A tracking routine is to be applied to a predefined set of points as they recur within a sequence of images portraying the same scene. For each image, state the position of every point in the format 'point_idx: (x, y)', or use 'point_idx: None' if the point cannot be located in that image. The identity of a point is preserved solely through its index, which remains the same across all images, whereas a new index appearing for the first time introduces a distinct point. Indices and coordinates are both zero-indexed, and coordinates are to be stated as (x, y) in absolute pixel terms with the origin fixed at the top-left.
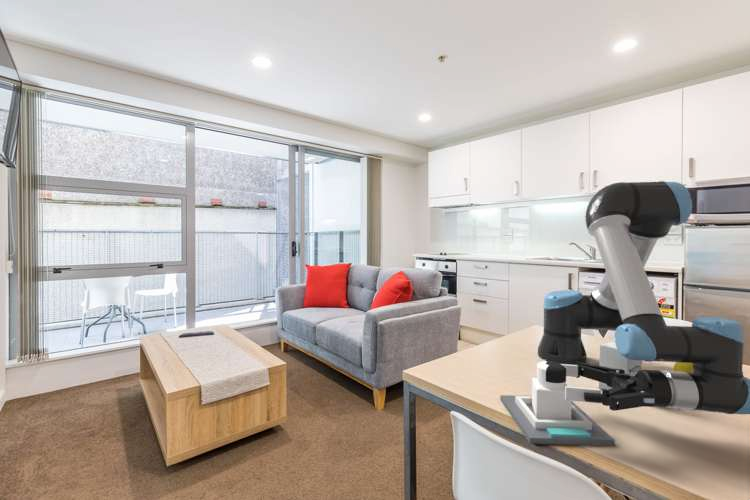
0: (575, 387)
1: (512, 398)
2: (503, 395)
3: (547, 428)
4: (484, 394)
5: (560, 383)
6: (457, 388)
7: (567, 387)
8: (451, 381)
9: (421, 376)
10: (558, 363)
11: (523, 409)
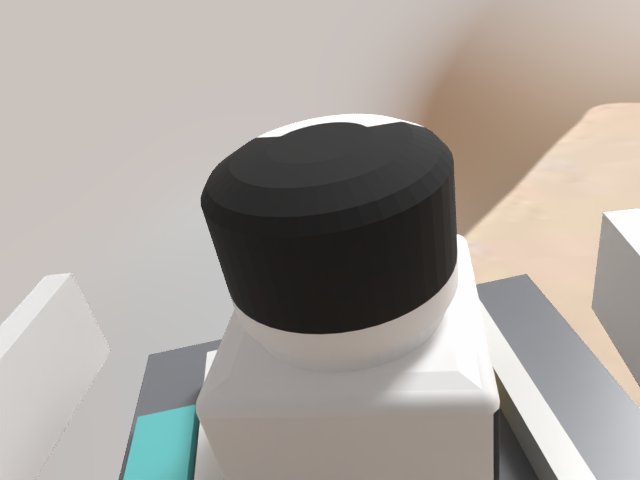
0: (18, 321)
1: (514, 311)
2: (531, 282)
3: (186, 409)
4: (550, 248)
5: (232, 298)
6: (550, 188)
7: (44, 281)
8: (609, 169)
9: (586, 123)
10: (359, 170)
11: None
